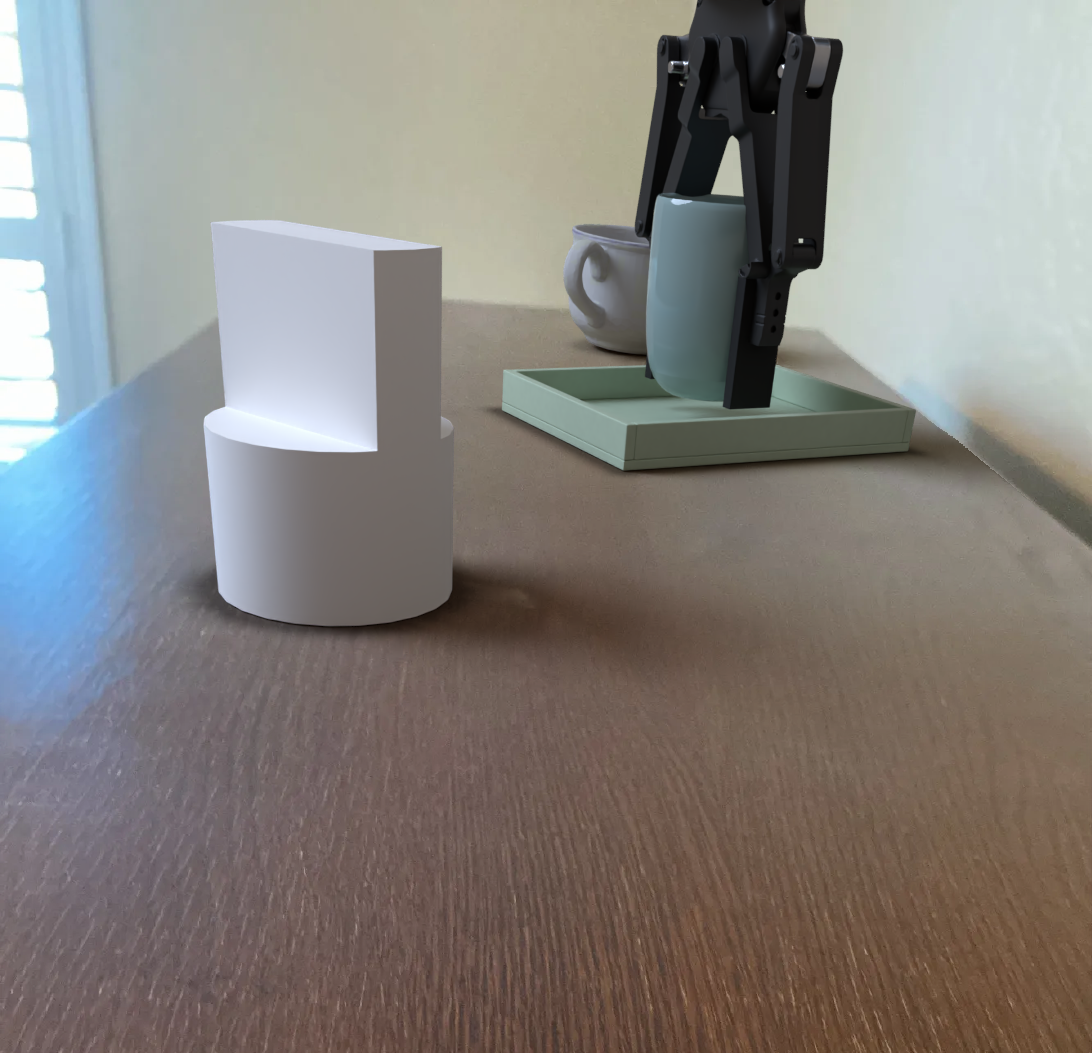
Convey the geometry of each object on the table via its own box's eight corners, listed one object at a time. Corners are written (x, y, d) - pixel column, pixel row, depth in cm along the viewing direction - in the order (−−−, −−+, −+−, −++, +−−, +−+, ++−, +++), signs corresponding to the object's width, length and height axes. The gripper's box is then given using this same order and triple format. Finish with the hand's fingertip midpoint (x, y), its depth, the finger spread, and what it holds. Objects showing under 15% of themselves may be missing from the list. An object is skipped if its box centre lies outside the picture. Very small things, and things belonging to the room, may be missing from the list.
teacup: (638, 333, 108) (647, 222, 103) (733, 356, 101) (747, 238, 96) (505, 344, 100) (509, 224, 95) (598, 369, 93) (607, 241, 89)
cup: (755, 415, 73) (784, 209, 67) (622, 398, 75) (638, 196, 69) (780, 392, 79) (808, 201, 73) (657, 377, 81) (675, 190, 75)
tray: (761, 398, 87) (766, 361, 86) (908, 451, 76) (916, 409, 75) (501, 410, 80) (502, 369, 78) (623, 471, 69) (626, 424, 67)
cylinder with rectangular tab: (499, 591, 51) (511, 244, 45) (322, 644, 46) (304, 255, 39) (347, 538, 56) (337, 217, 49) (170, 580, 50) (130, 223, 44)
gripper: (594, -100, 70) (567, 360, 83) (828, -136, 55) (751, 434, 68) (711, -85, 73) (668, 358, 86) (964, -115, 58) (866, 428, 71)
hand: (704, 391), depth 77 cm, fingers closed on cup, 8 cm apart
